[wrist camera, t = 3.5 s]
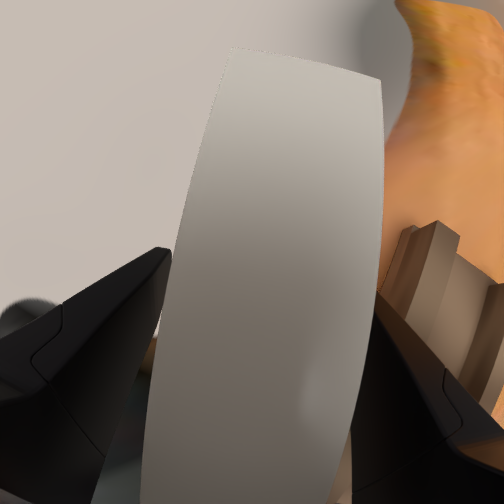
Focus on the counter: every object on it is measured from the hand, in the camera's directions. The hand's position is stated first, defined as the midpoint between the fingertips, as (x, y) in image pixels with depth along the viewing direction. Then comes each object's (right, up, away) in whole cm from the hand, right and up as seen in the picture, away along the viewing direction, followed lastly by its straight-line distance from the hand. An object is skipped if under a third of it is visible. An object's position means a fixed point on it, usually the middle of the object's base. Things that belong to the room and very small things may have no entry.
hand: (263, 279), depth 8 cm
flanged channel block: (+8, -6, +6) cm, 12 cm away
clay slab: (-1, -3, +6) cm, 7 cm away
